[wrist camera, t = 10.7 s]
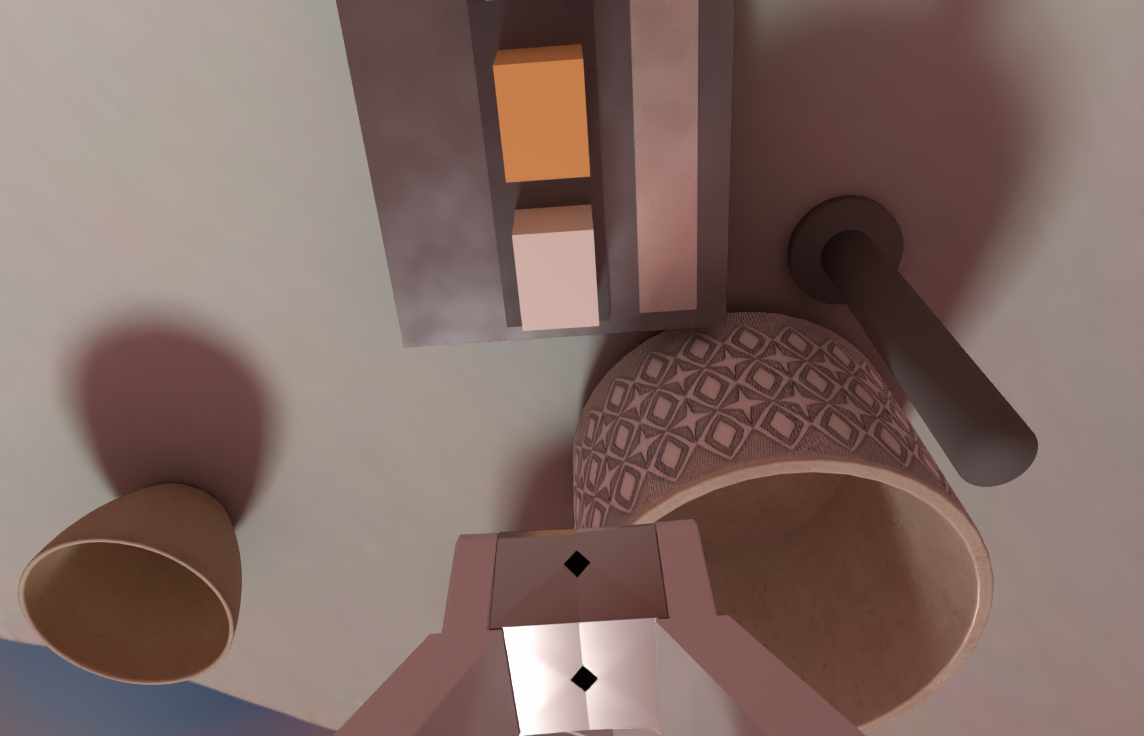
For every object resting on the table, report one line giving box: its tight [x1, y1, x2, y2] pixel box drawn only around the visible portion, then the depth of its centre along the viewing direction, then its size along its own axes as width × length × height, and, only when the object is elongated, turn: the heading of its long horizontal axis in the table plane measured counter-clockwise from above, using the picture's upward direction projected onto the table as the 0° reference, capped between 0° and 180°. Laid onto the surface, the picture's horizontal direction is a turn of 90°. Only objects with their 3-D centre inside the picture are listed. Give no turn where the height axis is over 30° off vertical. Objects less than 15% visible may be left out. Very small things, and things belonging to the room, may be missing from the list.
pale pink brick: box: [512, 204, 599, 331], centre depth 33 cm, size 3×4×3 cm
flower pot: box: [18, 483, 242, 685], centre depth 44 cm, size 10×10×7 cm
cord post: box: [788, 196, 1038, 487], centre depth 32 cm, size 5×5×16 cm
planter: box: [573, 312, 993, 736], centre depth 39 cm, size 16×16×13 cm
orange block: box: [493, 44, 590, 183], centre depth 30 cm, size 3×4×3 cm
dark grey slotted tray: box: [336, 0, 735, 348], centre depth 33 cm, size 14×20×4 cm
